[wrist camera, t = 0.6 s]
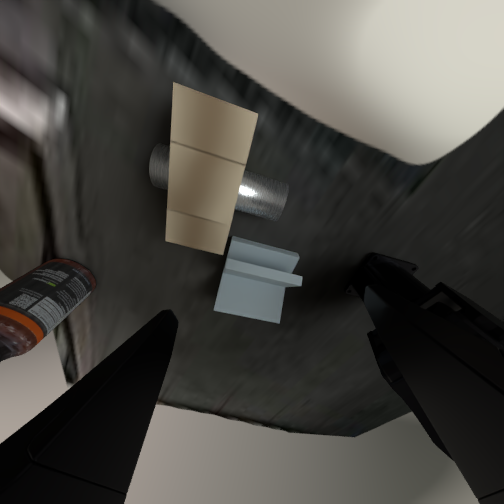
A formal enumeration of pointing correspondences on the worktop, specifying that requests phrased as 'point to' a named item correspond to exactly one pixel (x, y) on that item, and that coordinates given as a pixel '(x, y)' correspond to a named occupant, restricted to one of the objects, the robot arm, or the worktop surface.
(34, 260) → the worktop surface
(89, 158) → the worktop surface
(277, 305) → the v block
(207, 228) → the beam
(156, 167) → the axle
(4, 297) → the supplement bottle
